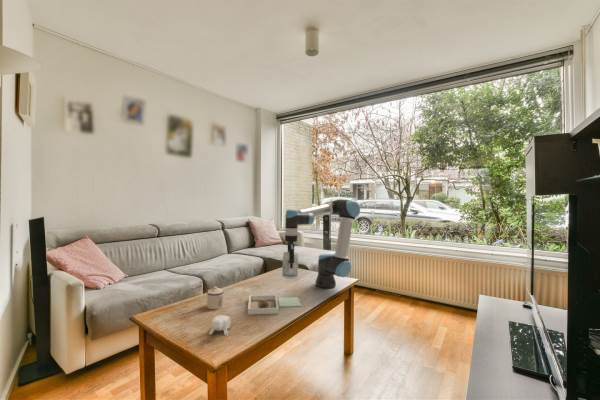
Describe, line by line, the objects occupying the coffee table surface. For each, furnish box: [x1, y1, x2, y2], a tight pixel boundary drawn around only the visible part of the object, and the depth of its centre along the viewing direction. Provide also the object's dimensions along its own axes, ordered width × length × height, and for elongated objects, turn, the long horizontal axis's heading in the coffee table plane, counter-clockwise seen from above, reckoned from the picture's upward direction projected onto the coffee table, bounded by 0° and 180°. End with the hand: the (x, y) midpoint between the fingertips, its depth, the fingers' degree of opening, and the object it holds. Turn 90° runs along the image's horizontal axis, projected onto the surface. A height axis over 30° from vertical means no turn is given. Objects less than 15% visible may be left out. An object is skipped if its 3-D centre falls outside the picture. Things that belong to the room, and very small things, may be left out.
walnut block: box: [257, 300, 269, 308], centre depth 156 cm, size 5×5×5 cm
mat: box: [277, 297, 302, 308], centre depth 169 cm, size 13×13×1 cm
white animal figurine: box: [208, 314, 232, 336], centre depth 130 cm, size 9×8×15 cm
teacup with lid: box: [206, 285, 224, 310], centre depth 161 cm, size 12×9×12 cm
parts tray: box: [247, 294, 280, 316], centre depth 162 cm, size 17×21×3 cm
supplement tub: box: [281, 251, 299, 280], centre depth 169 cm, size 10×10×15 cm
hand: (290, 270), depth 169 cm, fingers closed on supplement tub, 10 cm apart
